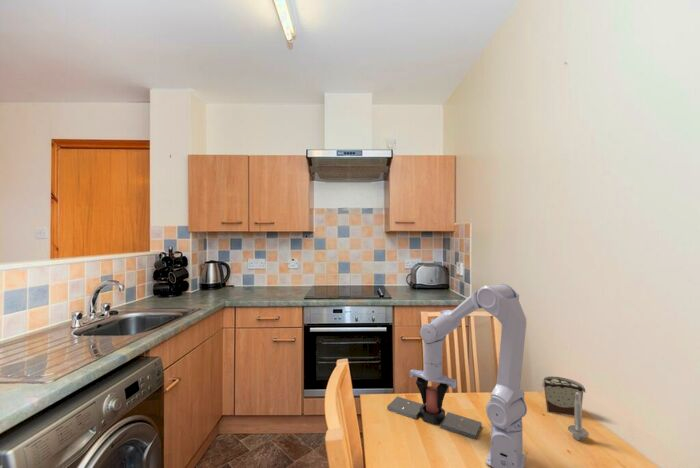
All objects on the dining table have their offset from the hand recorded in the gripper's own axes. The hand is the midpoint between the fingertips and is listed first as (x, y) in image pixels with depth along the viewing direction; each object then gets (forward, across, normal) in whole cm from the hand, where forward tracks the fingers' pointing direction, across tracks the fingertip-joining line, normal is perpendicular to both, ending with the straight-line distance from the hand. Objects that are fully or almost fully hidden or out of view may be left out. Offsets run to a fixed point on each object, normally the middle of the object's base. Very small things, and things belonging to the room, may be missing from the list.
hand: (432, 404), depth 98 cm
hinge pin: (+3, 0, 0) cm, 3 cm away
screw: (+4, -38, -14) cm, 41 cm away
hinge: (+4, 0, 0) cm, 4 cm away
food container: (+4, -34, -30) cm, 46 cm away
